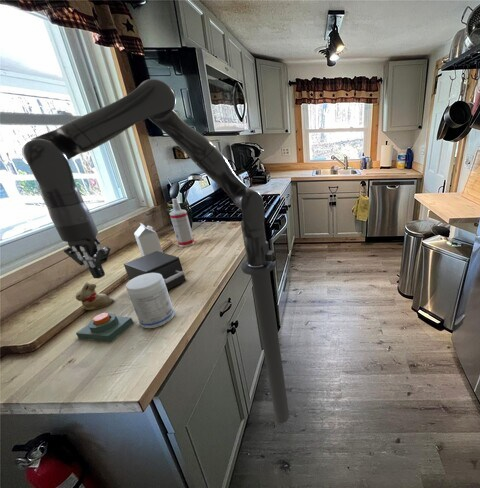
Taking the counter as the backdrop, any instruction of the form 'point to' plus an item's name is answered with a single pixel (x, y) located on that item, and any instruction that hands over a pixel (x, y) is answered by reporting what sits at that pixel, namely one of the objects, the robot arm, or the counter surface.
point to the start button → (101, 318)
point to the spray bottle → (181, 225)
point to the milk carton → (147, 240)
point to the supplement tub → (150, 300)
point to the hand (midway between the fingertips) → (99, 277)
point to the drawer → (171, 274)
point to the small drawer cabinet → (148, 264)
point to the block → (105, 329)
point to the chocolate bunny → (92, 297)
